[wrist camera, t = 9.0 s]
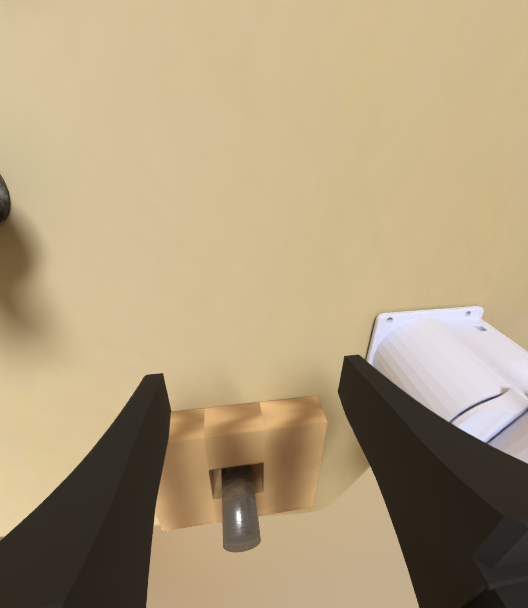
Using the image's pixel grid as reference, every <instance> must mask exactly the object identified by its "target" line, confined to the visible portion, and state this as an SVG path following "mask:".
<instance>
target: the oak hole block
mask: <svg viewBox="0 0 528 608" xmlns="http://www.w3.org/2000/svg"><path fill="white" fill-rule="evenodd" d="M327 424H328V422H327V419H326V417H325V414H324V412H323V409H322V406H321V404H320V401H319V399H318V396H311V397H302V398H293V399H284V400H275V401H266V402H257V403H248V404H239V405H230V406H221V407H212V408H203V409H194V410H185V411H176V412H171V418H170V431H169V439H168V445H167V450H166V455H165V460H164V465H163V471H162V476H161V481H160V486H159V491H158V496H157V502H156V508H155V512H156V514H157V517H158V520H159V523H160V526H161V529H162V531H167V530H173V529H179V528H186V527H191V526H198V525H204V524H210V523H217V522H223V520H222V481H221V469H219V468H226V467H233V466H240V465H248V464H252V470H253V479H254V487H255V496H256V505H257V513H258V516H260V515H267V514H273V513H279V512H285V511H291V510H298V509H304V508H310V507H313V504H314V499H315V493H316V487H317V481H318V476H319V470H320V464H321V458H322V452H323V447H324V441H325V435H326V429H327ZM255 463H259V464H255ZM213 469H215V470H213Z"/></svg>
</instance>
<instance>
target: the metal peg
mask: <svg viewBox="0 0 528 608" xmlns="http://www.w3.org/2000/svg"><path fill="white" fill-rule="evenodd" d="M221 481H222V520H223V548H224V549H225V550H227V551H229V552H243V551H247V550H250V549H253V548H254V547H256V546H257V545H258V544H259V543H260V540H261V539H260V530H259V522H258V513H257V505H256V496H255V487H254V479H253V470H252V464H248V465H240V466H233V467H226V468H221Z"/></svg>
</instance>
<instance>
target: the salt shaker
mask: <svg viewBox="0 0 528 608" xmlns="http://www.w3.org/2000/svg"><path fill="white" fill-rule="evenodd" d="M9 208H10V200H9V192H8V190H7V187H6V185H5V182H4V180H3V178H2V176H1V175H0V226H1V225H2V224H3V223H4V221H5V220H6V218H7V216H8V213H9Z"/></svg>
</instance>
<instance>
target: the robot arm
mask: <svg viewBox="0 0 528 608" xmlns="http://www.w3.org/2000/svg"><path fill="white" fill-rule="evenodd" d="M483 312H484V309H483V308H481V307H480V306H470V307H457V308H444V309H431V310H418V311H405V312H392V313H382V314H379V315H378V316H377V318H376V321H375V325H374V329H373V334H372V338H371V342H370V347H369V351H368V355H367V359H366V360H365V359H363V358H362V357H361V356H360V355H350V356H344V361H343V367H342V372H341V378H340V383H339V388H338V394H339V397H340V400H341V403H342V406H343V409H344V412H345V414H346V417H347V419H348V421H349V423H350V425H351V427H352V429H353V431H354V434H355V436H356V438H357V440H358V442H359V444H360V446H361V448H362V450H363V452H364V454H365V456H366V458H367V460H368V462H369V464H370V466H371V468H372V471H373V473H374V475H375V477H376V480H377V482H378V485H379V487H380V490H381V493H382V496H383V498H384V501H385V504H386V506H387V509H388V512H389V515H390V518H391V520H392V523H393V526H394V529H395V531H396V534H397V538H398V540H399V543H400V546H401V549H402V553H403V556H404V558H405V562H406V565H407V568H408V571H409V574H410V578H411V581H412V584H413V588H414V591H415V594H416V598H417V601H418V604H419V608H528V352H527V351H526V350H524V349H523V348H521V347H520V346H519V345H517V344H516V343H514V342H513V341H512V340H510V339H509V338H507V337H506V336H505V335H503V334H502V333H500V332H499V331H498V330H496V329H495V328H493V327H492V326H491V325H489V324H488V323H486V322H485V321H484V320H482V319H481V317H482V315H483ZM388 318H390V319H389V320H387V319H388ZM170 418H171V408H170V403H169V399H168V394H167V390H166V385H165V380H164V376H163V373H161V374H150V375H146V376H145V377H144V378H143V379H142V381H141V383H140V384H139V386H138V387H137V389H136V390H135V392H134V393H133V395H132V396H131V398H130V399H129V401H128V402H127V404H126V405H125V407H124V408H123V409H122V411H121V412H120V414H119V415H118V416H117V418H116V419H115V421H114V422H113V423H112V425H111V426H110V427H109V429H108V430H107V431H106V432H105V434H104V435H103V436H102V437H101V439H100V440H99V441H98V442H97V444H96V445H95V446H94V447H93V449H92V450H91V451H90V452H89V453H88V455H87V456H86V457H85V458H84V459H83V460H82V461H81V463H80V464H79V465H78V466H77V467H76V468H75V469H74V470H73V471H72V473H71V474H70V475H69V476H68V477H67V478H66V479H65V480H64V481H63V482H62V483H61V484H60V485H59V486H58V487H57V488H56V489H55V490H54V491H53V492H52V493H51V494H50V495H49V496H48V497H47V498H46V499H45V500H44V501H43V502H42V503H41V504H40V505H39V506H38V507H37V508H36V509H35V510H34V511H33V512H32V513H30V514H29V515H28V516H27V517H26V518H25V519H24V520H23V521H22V522H21V523H19V524H18V525H17V526H16V527H15V528H14V529H13V530H12V531H11V532H10V533H8V534H7V535H6V536H5V537H4V538H3V539H2V540H1V541H0V608H146V601H147V588H148V576H149V575H148V574H149V564H150V554H151V543H152V534H153V525H154V515H155V508H156V502H157V496H158V491H159V486H160V481H161V476H162V471H163V465H164V460H165V455H166V450H167V445H168V439H169V431H170Z"/></svg>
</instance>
